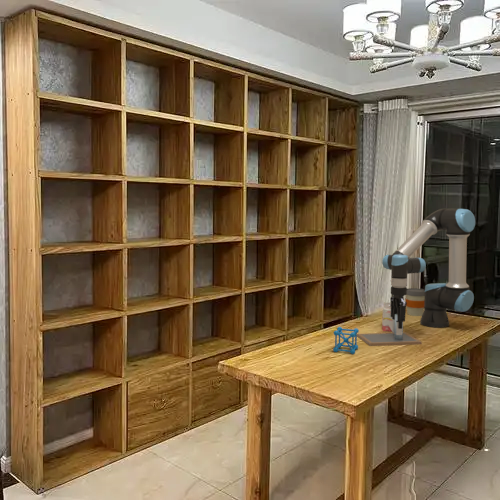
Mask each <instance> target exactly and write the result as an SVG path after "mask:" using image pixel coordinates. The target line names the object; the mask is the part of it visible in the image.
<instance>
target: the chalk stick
mask: <svg viewBox="0 0 500 500" xmlns="http://www.w3.org/2000/svg"><path fill="white" fill-rule="evenodd" d="M396 321H398V319H397V314H395V326H394V339H397V340H401V339H403V332H404V322H403V323H402V335H396V325H397V322H396Z"/></svg>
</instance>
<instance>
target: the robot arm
mask: <svg viewBox="0 0 500 500" xmlns="http://www.w3.org/2000/svg"><path fill="white" fill-rule="evenodd" d="M475 226H476V218H475V214H473V212H472V211H471V210H469V209H466V208H448V207H447V208H439V209H438V210H435V211H433V212H432V213H430V214H429V215H427V216H426V217H425V218H424V219H423V220H421V224H420V226H419V227H418V228H417V229H416V230H414V232H413V233H412V234H411V235H410V236H409V237H408V238H407V239H406V240H405V241H404V242H403V243H402V244H401V245H399V247H398V248H397V249H396V250H395V251H394V252H393V253H392V254H387V255H384V257H383V258H382V261H381V263H382V266H383V268H385V269H387V270H390V271H391V275H390V276H391V278H390V286H391V287H390V294H391V295H392V296H391V297H390V300H389V301H390V303H391V304H390V306H391V317H392V319H393V329H392V332H391V333H394V326H395V314H397V319H398V321H396V322H397V325H396V335H402V323H403V324H404V323H405V322H406V314H407V313H406V312H407V306H406V304H407V302H406V301H405V298H404V296H406V294H407V289H408V288H407V286H408V274H419V273H423V272H424V271H425V270H426V267H427V266H426V265H427V263H426V261H425V259H424V258H421V257H412V256H413V255H414V254H415V253H416V251H418V250H419V249H420V248H421V246H423V245H424V244H425V243H426V241H428V240H429V239H430V238H431V237H432V235H433V236H434V235H436V234H437V233H438V232H441V231H445V234H446V236H447V237H448V240H449V241H448V242H449V243H448V246H449V247H448V282H447V283H444V282H440V283H439V282H438V283H437V282H436V283H428V284H426V285H425V286H424V290H425V298H424V311H423V314H422V316H420V317H421V318H420V325H422V326H426V327H429V328H448V327H449V326H450V319H449V317H448V314H447V310H452V311H456V312H463V313H465V312H467V311H469V310H470V309H471V307H472V306H473V303H474V299H475V296H474V293H473V291H472V290H470V285H469V284H468V283H467V248H468V247H467V245H468V244H467V243H468V237H469V236H470V235H471V232H472V231H473V230H474V229H475Z"/></svg>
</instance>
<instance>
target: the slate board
mask: <svg viewBox="0 0 500 500" xmlns="http://www.w3.org/2000/svg"><path fill="white" fill-rule="evenodd" d="M357 337H358V338H359V339H360V340H362V342H364V343H365V344H367V345H368V346H369V347H379V346H405V345H406V346H408V345H409V346H410V345H422V344H423V341H421V340H419V339H417V338H416V337H414V336H412V335H411V334H410V333H407V332H406V331H405V332H404V331H403V339H401V340H397V339H394V333H392V332H377V333H369V332H368V333H357Z"/></svg>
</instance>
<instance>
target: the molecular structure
mask: <svg viewBox="0 0 500 500" xmlns="http://www.w3.org/2000/svg"><path fill="white" fill-rule="evenodd" d="M343 331H345V332H343ZM347 332H348V333H347ZM349 332H350V333H349ZM359 332H360V331H359V328H357V327H356V328H353V329H348V328H343V327H342V326H338V327H337V330H334V331H333V335H334V339H335V340H334V347H333V349H332V351H333V352H335V353H337V352H346V353H347V352H348V353H350V354H352V355H354V354H355V353H356V350H358V349H359V345H358V342H357V341H358V340H357V339H358V338H357V334H359ZM346 336H348V337H346ZM351 338H352V339H351ZM341 339H342V340H343V341H341ZM350 339H351V341H350ZM346 344H347V345H346ZM342 347H344V348H349V349H350V350H349V349H341V348H342Z"/></svg>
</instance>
